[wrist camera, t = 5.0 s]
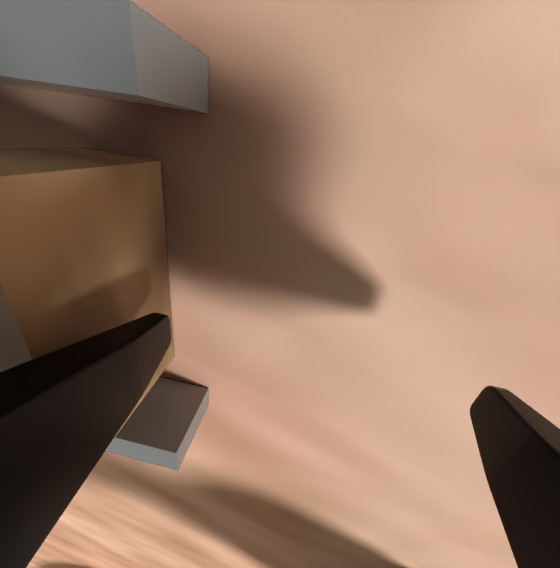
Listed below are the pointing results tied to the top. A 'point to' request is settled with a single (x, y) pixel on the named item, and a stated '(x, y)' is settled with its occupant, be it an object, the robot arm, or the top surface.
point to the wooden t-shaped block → (78, 249)
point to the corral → (125, 87)
